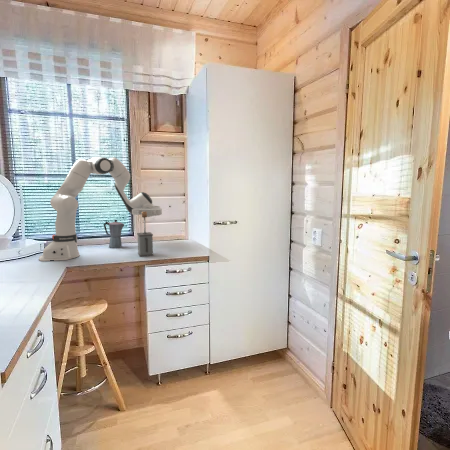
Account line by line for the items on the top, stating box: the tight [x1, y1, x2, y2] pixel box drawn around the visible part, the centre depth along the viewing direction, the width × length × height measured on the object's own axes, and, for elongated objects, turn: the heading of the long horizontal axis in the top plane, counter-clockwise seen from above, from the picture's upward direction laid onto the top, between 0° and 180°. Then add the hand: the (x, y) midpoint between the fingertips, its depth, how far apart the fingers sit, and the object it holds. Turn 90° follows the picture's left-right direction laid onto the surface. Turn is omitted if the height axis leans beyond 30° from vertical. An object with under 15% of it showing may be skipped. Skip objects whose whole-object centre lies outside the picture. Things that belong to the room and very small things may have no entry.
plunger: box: [141, 211, 148, 234], centre depth 200 cm, size 6×6×20 cm
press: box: [136, 231, 154, 258], centre depth 200 cm, size 8×11×14 cm
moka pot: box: [103, 219, 125, 249], centre depth 223 cm, size 10×15×20 cm, turn 89°
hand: (146, 212), depth 209 cm, fingers open, 8 cm apart
